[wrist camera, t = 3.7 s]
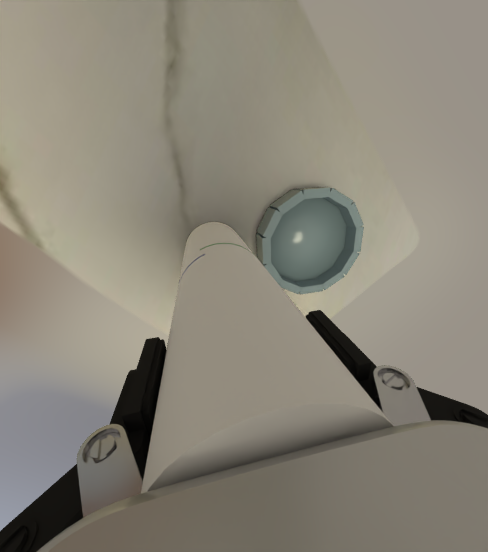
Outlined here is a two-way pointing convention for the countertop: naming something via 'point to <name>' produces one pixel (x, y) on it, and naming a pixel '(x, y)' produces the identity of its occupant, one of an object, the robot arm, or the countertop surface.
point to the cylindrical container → (244, 371)
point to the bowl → (309, 239)
